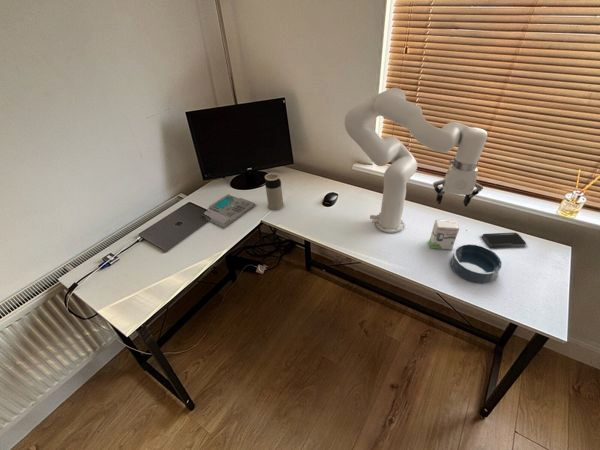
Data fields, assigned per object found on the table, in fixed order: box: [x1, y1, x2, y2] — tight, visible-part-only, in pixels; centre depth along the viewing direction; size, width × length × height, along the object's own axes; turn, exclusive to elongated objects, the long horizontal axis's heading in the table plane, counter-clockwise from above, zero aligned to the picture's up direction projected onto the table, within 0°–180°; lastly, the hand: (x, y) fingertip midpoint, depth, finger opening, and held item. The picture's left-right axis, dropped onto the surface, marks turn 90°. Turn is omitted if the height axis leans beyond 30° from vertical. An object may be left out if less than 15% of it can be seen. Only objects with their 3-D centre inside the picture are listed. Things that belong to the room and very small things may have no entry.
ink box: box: [429, 219, 460, 250], centre depth 127 cm, size 9×5×12 cm, turn 79°
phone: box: [481, 232, 527, 249], centre depth 130 cm, size 8×1×15 cm
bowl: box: [450, 243, 502, 284], centre depth 118 cm, size 16×16×6 cm
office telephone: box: [203, 193, 256, 229], centre depth 159 cm, size 23×3×20 cm
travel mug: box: [264, 172, 284, 211], centre depth 155 cm, size 8×8×18 cm
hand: (451, 203), depth 119 cm, fingers open, 9 cm apart
